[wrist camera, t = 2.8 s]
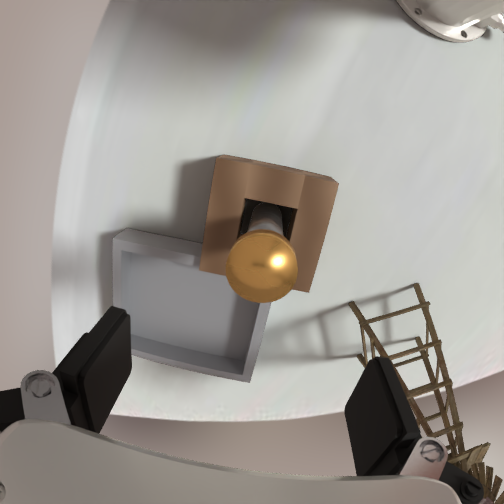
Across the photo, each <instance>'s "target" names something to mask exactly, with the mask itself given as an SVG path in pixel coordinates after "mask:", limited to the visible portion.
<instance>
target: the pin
mask: <svg viewBox="0 0 504 504" xmlns="http://www.w3.org/2000/svg"><path fill="white" fill-rule="evenodd" d="M225 269H226V277H227V280H228V283H229V285H230V286H231V288H232V289H233V290H234V291H235V292H236V293H237V294H238V295H239V296H241V297H242V298H244V299H246V300H249V301H252V302H256V303H269V302H273V301H276V300H278V299H280V298H282V297H284V296H285V295H286V294H287V293H289V291H290V290H291V289H292V288H293V286H294V284H295V282H296V279H297V275H298V266H297V260H296V254H295V251H294V248H293V246H292V245H291V243H290V242H289V241H288V240H287V239H286V238H285V237H284V236H283V226H282V215H281V211H280V209H279V208H278V206H277V205H275V204H272V203H268V202H262V203H260V204H258V205H257V206H256V207H255V208H254V210H253V213H252V216H251V220H250V223H249V227H248V231H247V233H245V234H243V235H242V236H241V237H239V238H238V239H237V240H236V242H235V243H234V244H233V246H232V248H231V250H230V253H229V256H228V259H227V262H226V268H225Z"/></svg>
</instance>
